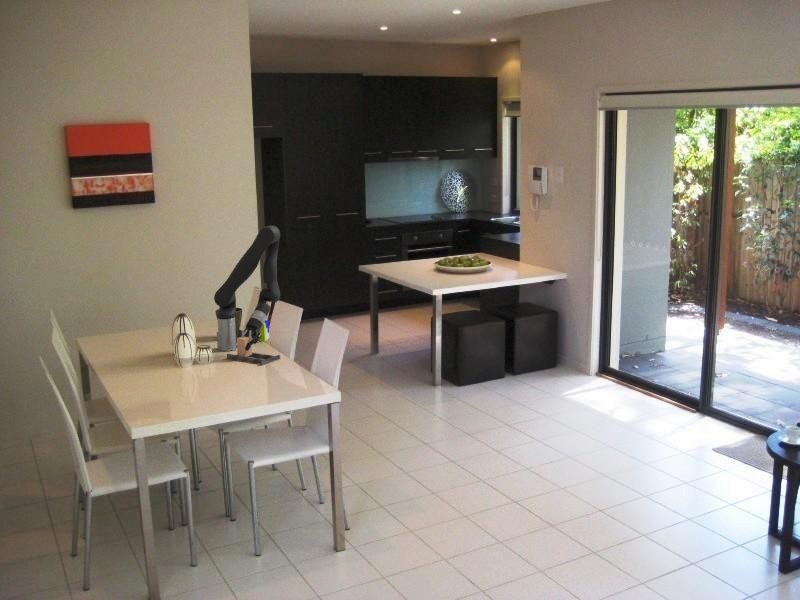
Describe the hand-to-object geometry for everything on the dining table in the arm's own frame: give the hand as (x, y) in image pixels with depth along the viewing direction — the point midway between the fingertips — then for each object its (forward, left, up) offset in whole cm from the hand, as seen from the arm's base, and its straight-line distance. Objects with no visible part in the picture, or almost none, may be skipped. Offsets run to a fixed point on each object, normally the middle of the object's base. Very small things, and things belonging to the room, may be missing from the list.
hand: (242, 349), depth 421 cm
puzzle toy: (-24, +41, -7) cm, 48 cm away
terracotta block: (0, +2, -4) cm, 4 cm away
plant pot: (-41, +37, -7) cm, 56 cm away
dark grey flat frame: (+5, +2, -7) cm, 8 cm away
